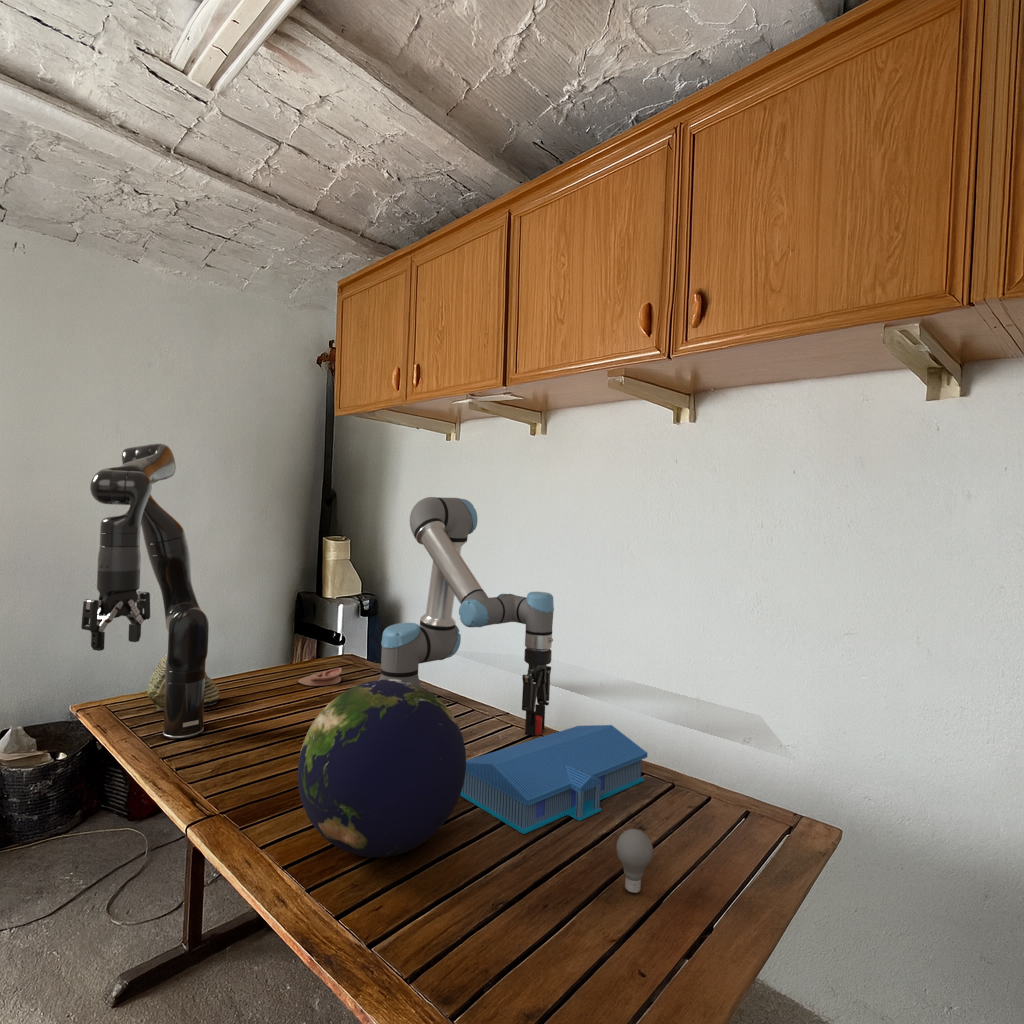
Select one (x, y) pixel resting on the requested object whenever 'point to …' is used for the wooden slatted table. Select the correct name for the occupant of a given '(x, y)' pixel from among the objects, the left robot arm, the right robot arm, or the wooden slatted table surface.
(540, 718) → the canister
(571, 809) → the model building
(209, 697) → the fossil
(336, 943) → the wooden slatted table surface
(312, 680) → the anatomical model
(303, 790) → the globe
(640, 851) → the light bulb
